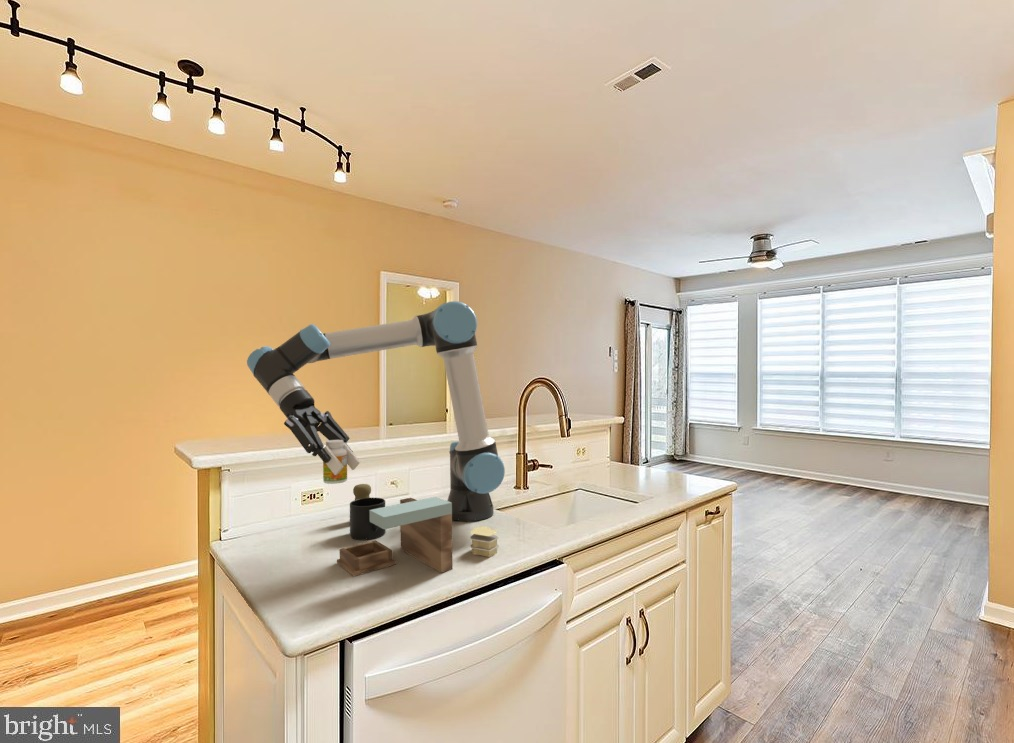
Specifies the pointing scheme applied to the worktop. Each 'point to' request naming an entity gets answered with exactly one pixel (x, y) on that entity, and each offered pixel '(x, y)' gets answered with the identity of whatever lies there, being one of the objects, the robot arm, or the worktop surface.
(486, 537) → the pale yellow layered block
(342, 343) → the robot arm
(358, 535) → the mug
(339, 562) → the brown wooden square tray
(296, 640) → the worktop surface
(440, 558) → the wall
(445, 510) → the plank
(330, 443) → the supplement bottle
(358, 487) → the cork
